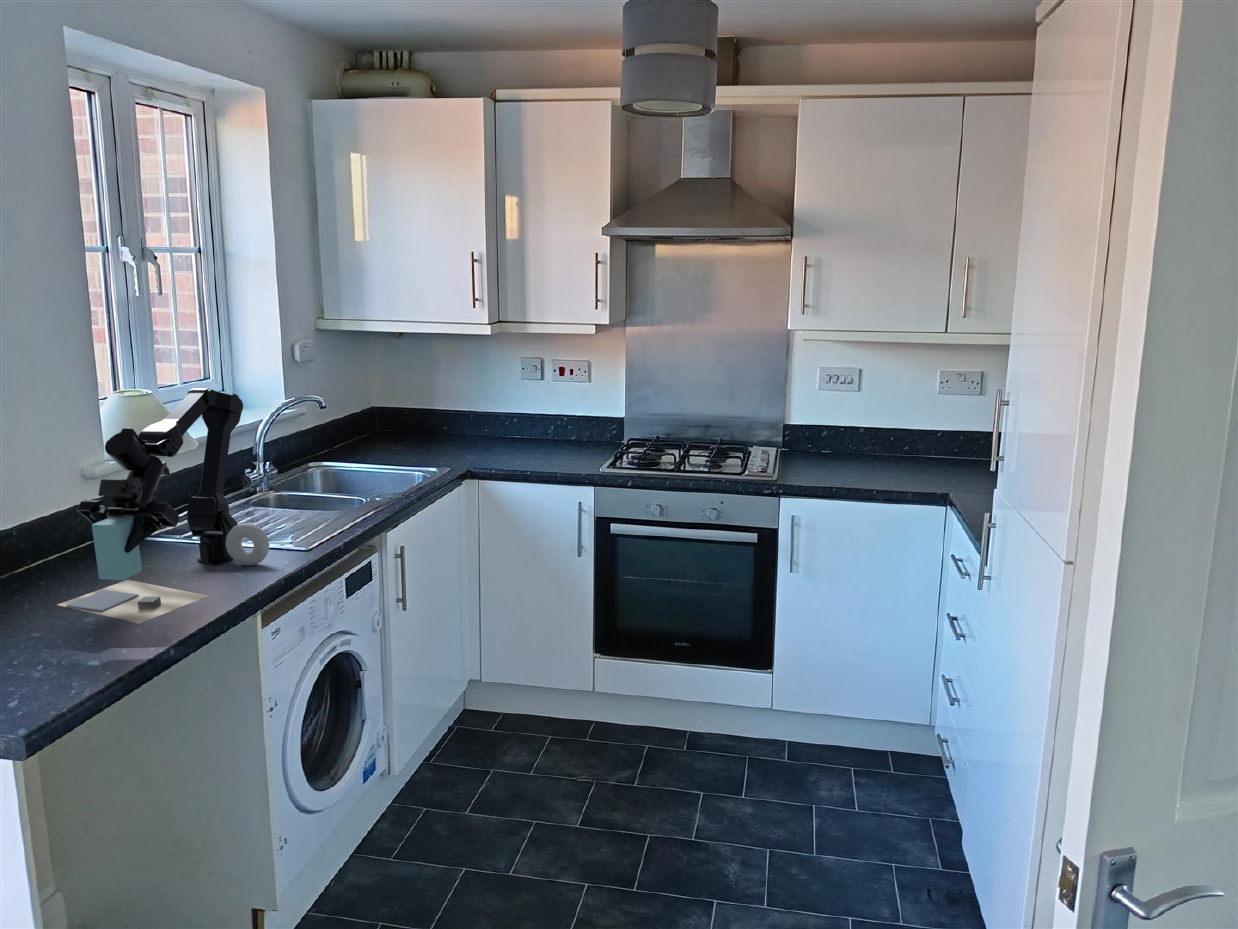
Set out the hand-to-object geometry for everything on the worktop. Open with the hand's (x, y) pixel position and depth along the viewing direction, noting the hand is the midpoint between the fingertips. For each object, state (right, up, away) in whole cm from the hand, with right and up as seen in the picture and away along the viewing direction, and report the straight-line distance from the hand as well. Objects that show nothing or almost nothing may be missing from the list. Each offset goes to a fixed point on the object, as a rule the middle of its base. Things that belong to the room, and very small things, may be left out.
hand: (112, 551), depth 183 cm
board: (+1, -12, +7) cm, 14 cm away
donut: (+14, -6, +32) cm, 35 cm away
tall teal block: (0, -5, +2) cm, 5 cm away
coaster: (-5, -11, +6) cm, 13 cm away
